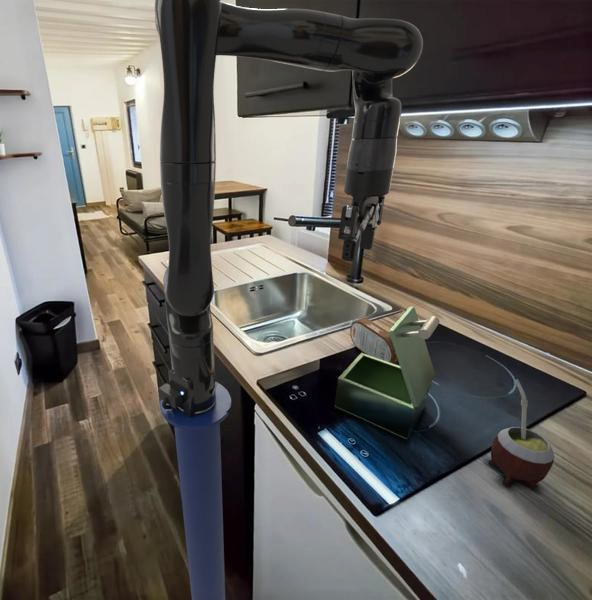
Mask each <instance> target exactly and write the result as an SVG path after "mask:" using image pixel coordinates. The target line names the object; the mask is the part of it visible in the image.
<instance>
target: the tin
mask: <svg viewBox="0 0 592 600" xmlns="http://www.w3.org/2000/svg"><path fill="white" fill-rule="evenodd" d="M349 328H350V329H349V333H350V339H351V341H352V343H353V345H354V346H355V347H356V348H357V349H358V350H359V351H360V352H361V353H363V354H366V355H369V356H372V357H375V358H378V359H381V360H384V361H387V362H390V363H392V364H395V365H398V364H399V362H398V358H397V355H396V352H395V349H394V346H393V343H392V340H391V337H390V333H389V330H387V329H386V328H384V327H382V326H380V325H378V324H377V323H375V322H374V321H372V320H371V319H369V318H366V317H361V318H360V319H357V320H354V321H352V323H351V324H350V327H349Z"/></svg>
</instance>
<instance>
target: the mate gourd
mask: <svg viewBox="0 0 592 600" xmlns="http://www.w3.org/2000/svg"><path fill="white" fill-rule="evenodd" d="M514 382H515V384H516V386H517V389H518V391H519V394H520V397H521V399H520V406H521V423H520V424H521V427H520V426H511V427H506V428H504V429H502V430H500V431H499V432H498V433H497V435H496V436H495V437H494V439H493V440H492V443H491V448H490V459H489V460H488V462H487V464H488V466H490V467H492V468H494V469H496V470H497V471H499V472H501V473H503V474H505V477H504V478H503V480H502V481H501V485H502V486H504V487H506V488H509V486H511V485H510V484H511V483H512V482H513V480H515V481H518V482H519V483H521V484H523V485H525V486H527V487H528V488H531V489H532V490H536V489H538V484H539V483H540V482H542V481H543V480H544V479H546V477H547V476H548V474H549V472H550V471H551V469H552V467H553V466H554V465H553V464H554V462H555V454H554V453H555V452H554V451H553V448H552V445H551V444H550V442H549V441H548V440H547V439H546V438H545V437H544V436H542V435H541V434H539V433H538V432H536V431H534V430H531V429H529V428H527V417H528V407H529V400H528V399H527V396H526V392H525V390H524V388H523V386H522V384H521V382H520V380H519V379H518V378H515V379H514Z"/></svg>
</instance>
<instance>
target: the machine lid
mask: <svg viewBox="0 0 592 600" xmlns="http://www.w3.org/2000/svg"><path fill="white" fill-rule="evenodd" d="M439 324H440V319H439V318H438V317H437V316H435V315H431V316H429V317H428V318H427V319H423V320H419V318H418V314H417V311H416V307H415V306H414V305H413V306H409V307H408V308H407V309H406V311H405V312H404V313H403V314H402V315H401V316H400V318H398V320H397V321H396V322H395V323H394V324H393V326H392V327H391V328H390V329H389V330H388V332H389V333H390V337H391V340H392V343H393V346H394V349H395V352H396V355H397V358H398V362H399V363H398V364H399V365H398V366H400V368H401V371H402V374H403V377H404V380H405V383H406V387H407V390H408V393H409V396H410V399H411V402H412V405H413V407H418V406H419V404H420V402H421V401H422V399H423V397H424V395H425V393H426V392H427V390H428V388H429V386H430V387H431V385H432V382H433V381H434V380H435V377H436V373H435V369H434V365H433V363H432V359H431V356H430V353H429V350H428V347H427V343H426V340H428V339H430V338H431V336H432V335H433V333H434V332H435V330H436V329H437V327H438V326H439ZM430 384H431V385H430Z"/></svg>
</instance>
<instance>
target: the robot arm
mask: <svg viewBox="0 0 592 600" xmlns="http://www.w3.org/2000/svg"><path fill="white" fill-rule="evenodd" d="M154 23H155V29H156V33H157V36H158V38H159V46H160V54H161V63H162V64H161V65H162V73H163V74H162V75H163V102H162V112H161V121H160V122H161V124H160V136H159V138H160V139H159V168H160V169H159V170H160V171H159V174H160V175H159V176H160V190H161V201H162V207H163V208H162V209H163V214H164V220H165V221H164V222H165V225H166V232H167V237H168V266H167V268H166V269H165V271H164V274H163V277H162V278H163V281H162V283H163V293H164V302H165V311H166V312H165V314H166V323H167V324H166V325H167V331H168V342H169V351H170V362H171V369H170V370H168V380H169V383H167V382H166V383H164V384H163V385H162V386H160V387H158V395H159V400H163V403H162V407H163V408H164V409H169V410H170V409H171V408H172V407H173V408H175V409H178V410H179V411H181V412H183V413H184V414H186V415H187V416H189V417H191V418H192V417H193V416H195V415H200V414H204V413H207V412H208V411H210V410H211V409H212V408H213V407H214V406H215V404H216V393H215V389H216V386H217V383H218V381H216V372H215V371H216V369H215V344H214V341H215V340H214V323H213V322H214V321H213V317H212V310H211V303H212V301H213V299H214V295H215V285H214V275H213V263H212V241H211V240H212V229H213V220H214V211H215V210H214V209H215V194H216V193H215V192H216V179H217V177H216V174H217V171H216V170H217V146H216V145H217V142H216V139H217V137H216V112H215V100H214V99H215V96H214V95H215V94H214V93H215V92H214V91H215V90H214V89H215V73H216V72H215V71H216V61H217V56H222V57H223V56H224V57H225V56H226V57H240V58H250V59H256V60H263V61H269V62H274V63H280V64H285V65H289V66H294V67H298V68H299V67H300V68H305V69H311V70H315V71H323V72H330V73H331V72H332V73H334V72H335V73H336V72H342V71H351V72H352V73H351V74H352V79H351V80H352V92H353V94H352V95H353V103H354V110H355V112H354V118H353V123H352V124H353V127H352V131H351V132H352V133H351V141H350V146H349V149H348V154H347V162H346V171H345V172H346V173H345V178H344V179H345V180H344V189H343V192H344V194H346V195H347V196H351V198H352V199H351V202H350V205H343V206H342V208H341V216H340V222H339V228H338V235H337V239H338V240H340V241H343V244H342V252H341V260H342V261H346V262H350V263H351V262H354V261H355V260H356V255H357V247H358V240H359V238H360V243H359V248H360V249H361V250H369V251H370V250H371V249H372V248H373V246H374V239H375V234H376V233H375V232H376V231H377V229H378V226H381V224H382V219H383V212H384V207H385V199H386V195H388V194H389V193H390V191H391V186H392V180H393V175H394V168H395V163H396V157H397V151H398V150H397V149H398V148H397V147H398V145H397V144H398V135H399V129H400V123H401V117H402V110H403V109H402V108H403V106H402V105H403V104H402V102H401V100H400V99H399V98H398V97H395V96H394V94H393V79H396V78H398V77H401V76H403V75H405V74H406V73H408V72H409V71H411V70H412V68H413V67H415V65H416V64H417V63H418V61H419V60H420V58H421V55H422V53H423V49H424V39H423V36H422V33H421V31H420V30H419V29H418V27H417V26H416V25H414V24H412V23H411V22H408V21H406V20H403V19H396V18H373V17H372V18H370V17H369V18H368V17H367V18H366V17H365V18H352V17H348V16H344V15H341V14H336V13H331V12H326V11H322V10H321V11H320V10H314V9H307V8H306V9H305V8H277V9H274V8H273V9H261V8H259V9H258V8H249V7H242V6H237V5H233V4H230V3H226V2H224V1H221V0H154ZM215 382H216V385H215ZM166 404H169V405H166Z"/></svg>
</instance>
